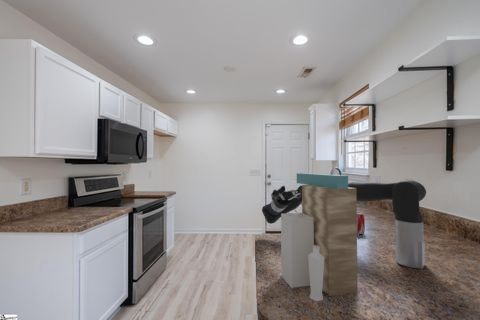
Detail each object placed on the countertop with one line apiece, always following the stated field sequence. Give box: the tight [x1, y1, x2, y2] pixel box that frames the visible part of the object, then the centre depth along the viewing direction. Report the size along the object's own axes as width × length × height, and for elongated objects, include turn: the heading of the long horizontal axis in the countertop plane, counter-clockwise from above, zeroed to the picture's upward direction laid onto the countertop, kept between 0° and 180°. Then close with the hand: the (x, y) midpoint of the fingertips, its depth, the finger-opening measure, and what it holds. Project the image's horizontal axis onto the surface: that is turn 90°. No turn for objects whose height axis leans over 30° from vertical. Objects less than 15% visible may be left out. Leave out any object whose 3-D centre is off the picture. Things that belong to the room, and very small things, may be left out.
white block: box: [280, 212, 314, 289], centre depth 79 cm, size 8×8×22 cm
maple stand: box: [301, 184, 359, 297], centre depth 79 cm, size 16×10×32 cm, turn 14°
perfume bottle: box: [308, 245, 324, 302], centre depth 69 cm, size 5×4×15 cm
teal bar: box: [296, 172, 349, 189], centre depth 84 cm, size 26×4×4 cm, turn 14°
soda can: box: [357, 211, 366, 235], centre depth 136 cm, size 7×7×12 cm
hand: (293, 187), depth 102 cm, fingers open, 8 cm apart
